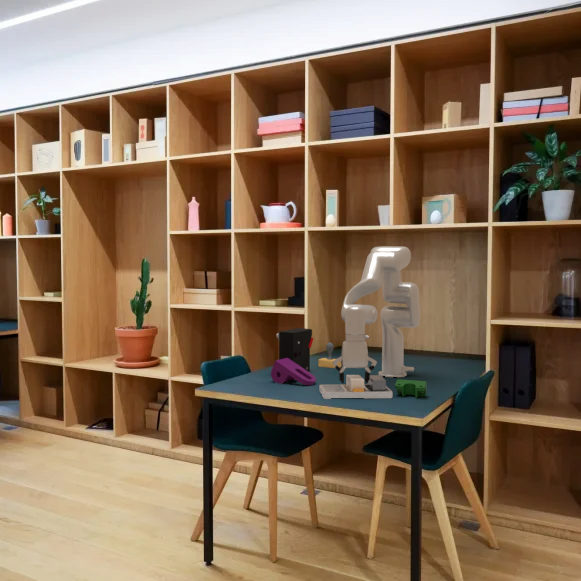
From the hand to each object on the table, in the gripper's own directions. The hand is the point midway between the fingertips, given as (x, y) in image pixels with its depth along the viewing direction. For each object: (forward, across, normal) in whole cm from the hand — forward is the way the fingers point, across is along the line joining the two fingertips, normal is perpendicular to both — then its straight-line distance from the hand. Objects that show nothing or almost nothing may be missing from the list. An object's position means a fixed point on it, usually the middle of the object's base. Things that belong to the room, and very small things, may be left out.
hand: (354, 382), depth 240 cm
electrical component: (+5, +19, -44) cm, 48 cm away
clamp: (+5, -21, +4) cm, 22 cm away
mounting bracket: (+5, +21, -24) cm, 32 cm away
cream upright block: (+4, 0, 0) cm, 4 cm away
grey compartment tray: (+5, 0, 0) cm, 5 cm away
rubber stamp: (+5, 0, -62) cm, 62 cm away
